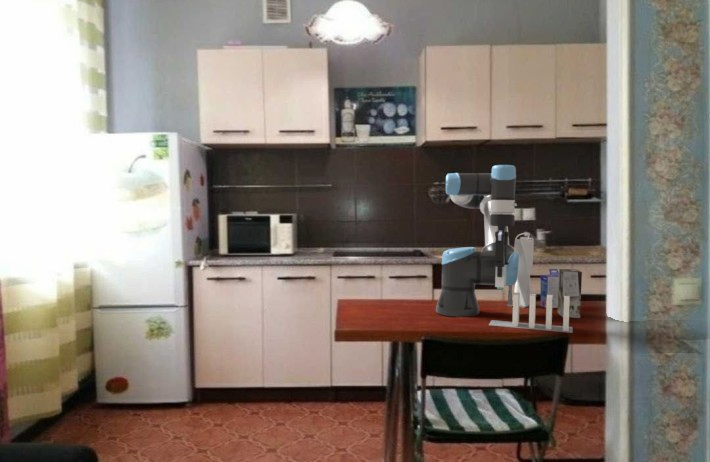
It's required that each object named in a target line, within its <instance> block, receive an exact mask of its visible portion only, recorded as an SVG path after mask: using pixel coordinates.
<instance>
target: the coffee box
mask: <svg viewBox="0 0 710 462" xmlns="http://www.w3.org/2000/svg"><path fill="white" fill-rule="evenodd" d="M558 273H559V280H558V308H557V313H558V315H559V316H560V317H562V318H563V313H564V296H570V303H569V318H572V319H573V318H575V319H580V318H581V307H582V305H581V304H582V281H583V280H582V279H583V271H581V270H579V269H577V268H575V269H574V268H558Z"/></svg>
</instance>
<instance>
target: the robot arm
mask: <svg viewBox="0 0 710 462" xmlns="http://www.w3.org/2000/svg"><path fill="white" fill-rule="evenodd" d="M516 173H517V168H516V166H515V165H511V164H497V165H493V166H492V167H491V172H490V173H488V172H485V173H484V172H481V173H479V172H478V173H467V172H465V173H463V172H461V173H460V172H454V173H452V172H451V173H449V172H448V173H447V174H446V176H445V194H446V195H448V196H449V198H450V200H451V201H452V202H453V203H454V204H455V205H457V206H458V207H462V208H465V209H466V208H467V209H473V210H475V209H479V210H480V212H481V213H482V214H483V221H484V246H483V248H482V249H481V251H477V248H476V247H473V246H469V247H468V246H467V247H455V248H450V249H447V250H445V251H443V253H442V258H441V267H442V268H441V291H440V294H439V297H438V300H437V302H436V306H435V312H436V313H437V314H439V315H442V316H446V317H455V318H456V317H474V316H478V315H480V306H479V303H478V298H477V295H476V291H475V290H476V289H475V288H476V285H482V286H483V285H488V286H494V287H495V288H497V287H503V289H504V288H505V287H507V286H508V285H512V286H515V283H516V281H517V274H518V265H519V253H516V252H514V248H513V246H512V245H510V238H509V235H510V232H509V227H514V226H515V221H516V219H515V218H516V217H515V215H514V214H513V213H515V207H517V206H518V204H517V203H516V182H517V181H516V179H517V174H516ZM504 257H505V263H504ZM508 287H509V286H508Z"/></svg>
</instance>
